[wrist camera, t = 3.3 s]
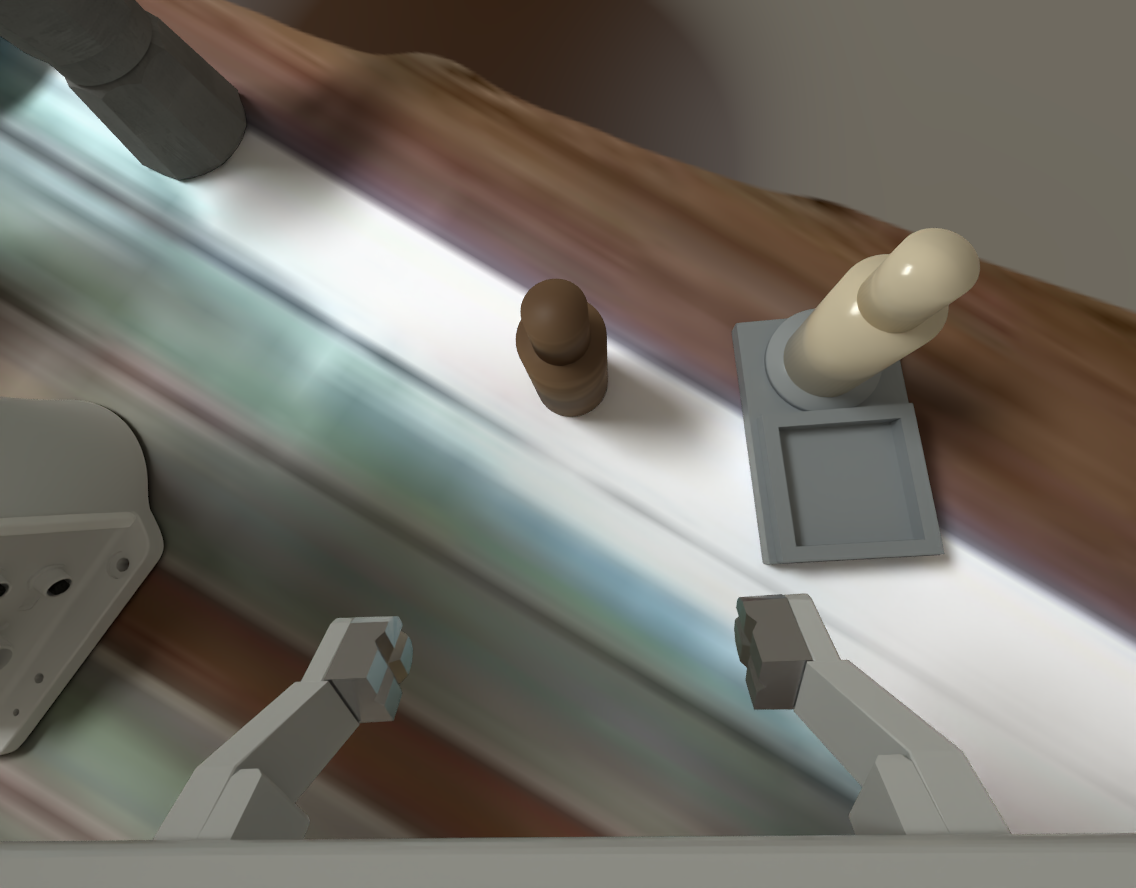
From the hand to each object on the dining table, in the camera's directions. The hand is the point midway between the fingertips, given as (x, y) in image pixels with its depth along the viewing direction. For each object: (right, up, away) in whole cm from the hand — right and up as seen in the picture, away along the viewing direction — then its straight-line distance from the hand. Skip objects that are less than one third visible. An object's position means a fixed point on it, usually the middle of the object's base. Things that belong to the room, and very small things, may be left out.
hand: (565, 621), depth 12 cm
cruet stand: (+15, +5, +17) cm, 24 cm away
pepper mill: (0, +8, +20) cm, 21 cm away
